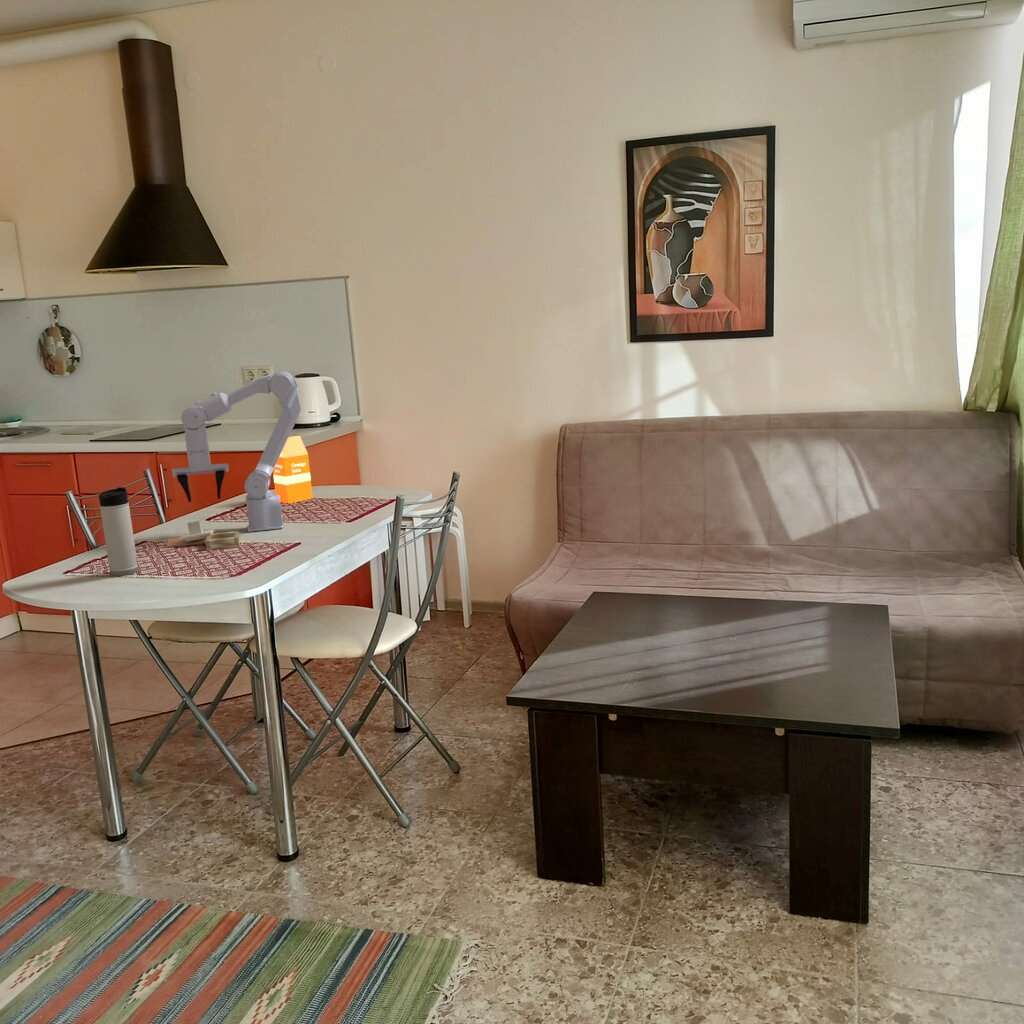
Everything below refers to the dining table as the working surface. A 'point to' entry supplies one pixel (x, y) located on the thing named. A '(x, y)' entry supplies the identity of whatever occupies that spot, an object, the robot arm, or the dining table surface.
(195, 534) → the lid
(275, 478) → the orange juice
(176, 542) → the mat
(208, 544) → the box
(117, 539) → the travel mug
